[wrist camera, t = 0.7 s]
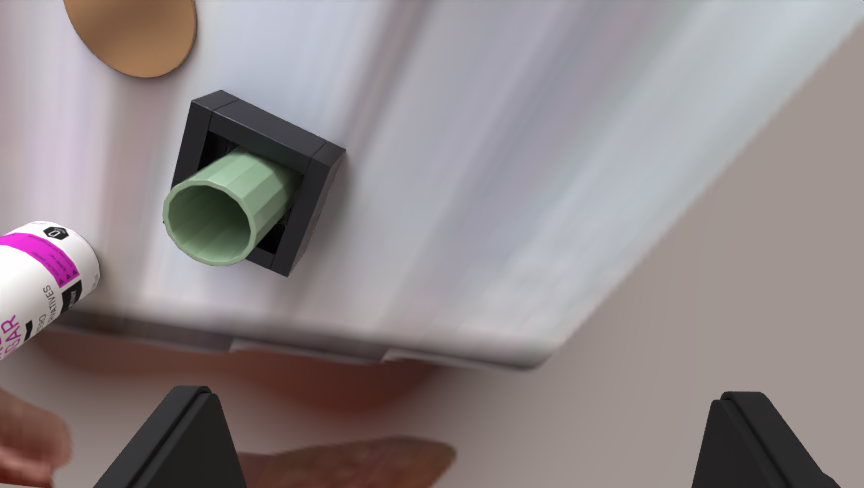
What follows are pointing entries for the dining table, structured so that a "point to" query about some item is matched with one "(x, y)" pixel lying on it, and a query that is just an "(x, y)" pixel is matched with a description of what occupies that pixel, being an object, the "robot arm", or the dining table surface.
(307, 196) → the black square frame
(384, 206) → the dining table surface
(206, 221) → the cup
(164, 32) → the coaster
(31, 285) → the supplement can
